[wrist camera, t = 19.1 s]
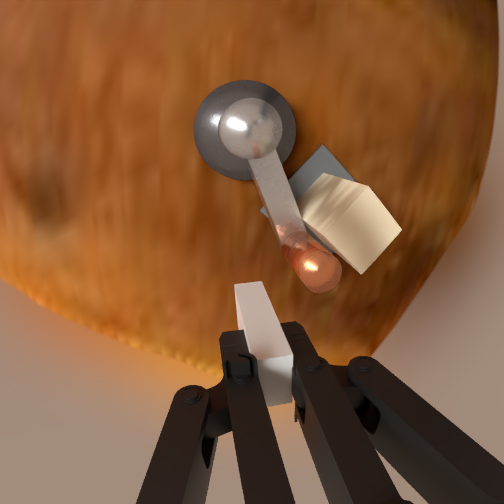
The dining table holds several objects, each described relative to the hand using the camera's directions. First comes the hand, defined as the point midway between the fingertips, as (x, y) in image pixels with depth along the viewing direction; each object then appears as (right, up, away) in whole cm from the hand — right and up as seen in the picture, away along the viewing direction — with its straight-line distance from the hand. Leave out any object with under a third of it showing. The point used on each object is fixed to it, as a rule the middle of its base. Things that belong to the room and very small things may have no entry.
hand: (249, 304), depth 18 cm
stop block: (+7, +7, +14) cm, 18 cm away
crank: (+2, +9, +10) cm, 14 cm away
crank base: (-1, +14, +11) cm, 18 cm away
